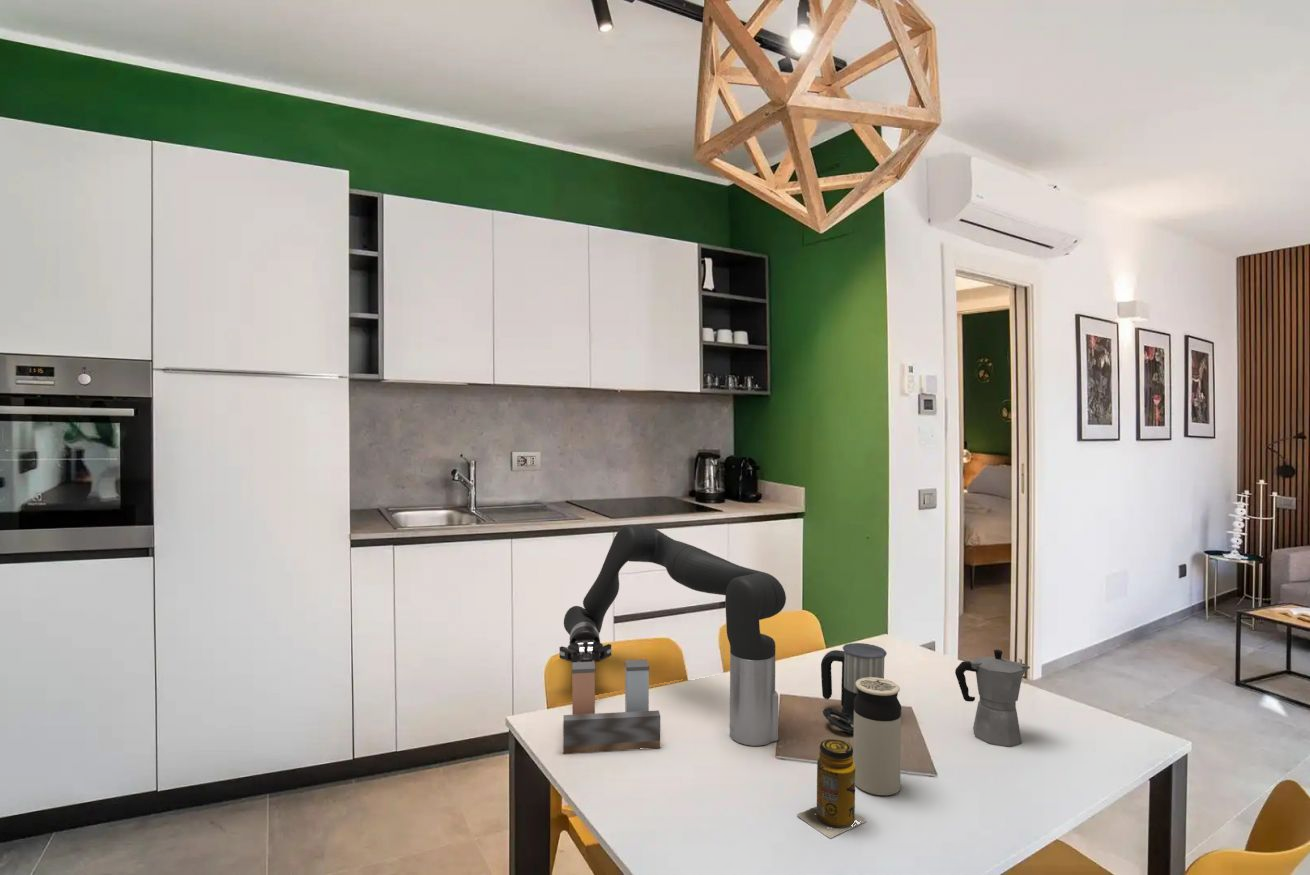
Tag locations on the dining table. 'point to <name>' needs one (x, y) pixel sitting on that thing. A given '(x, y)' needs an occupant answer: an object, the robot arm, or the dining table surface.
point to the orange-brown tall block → (583, 688)
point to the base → (611, 731)
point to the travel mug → (877, 736)
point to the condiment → (834, 790)
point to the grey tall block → (636, 685)
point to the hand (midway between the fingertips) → (586, 663)
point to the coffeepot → (994, 697)
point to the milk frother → (850, 678)
